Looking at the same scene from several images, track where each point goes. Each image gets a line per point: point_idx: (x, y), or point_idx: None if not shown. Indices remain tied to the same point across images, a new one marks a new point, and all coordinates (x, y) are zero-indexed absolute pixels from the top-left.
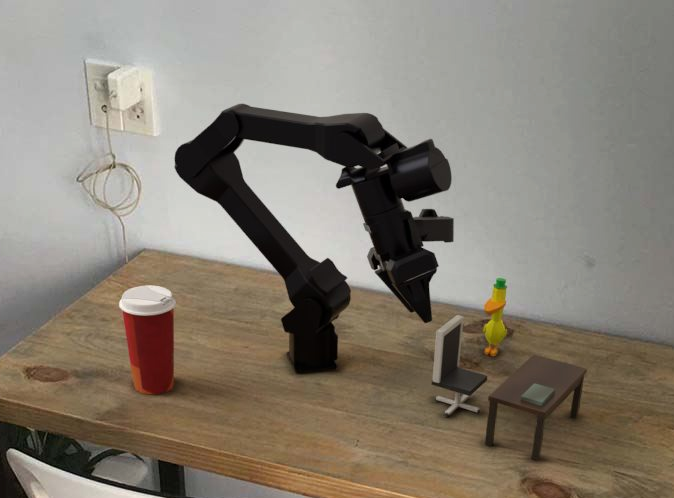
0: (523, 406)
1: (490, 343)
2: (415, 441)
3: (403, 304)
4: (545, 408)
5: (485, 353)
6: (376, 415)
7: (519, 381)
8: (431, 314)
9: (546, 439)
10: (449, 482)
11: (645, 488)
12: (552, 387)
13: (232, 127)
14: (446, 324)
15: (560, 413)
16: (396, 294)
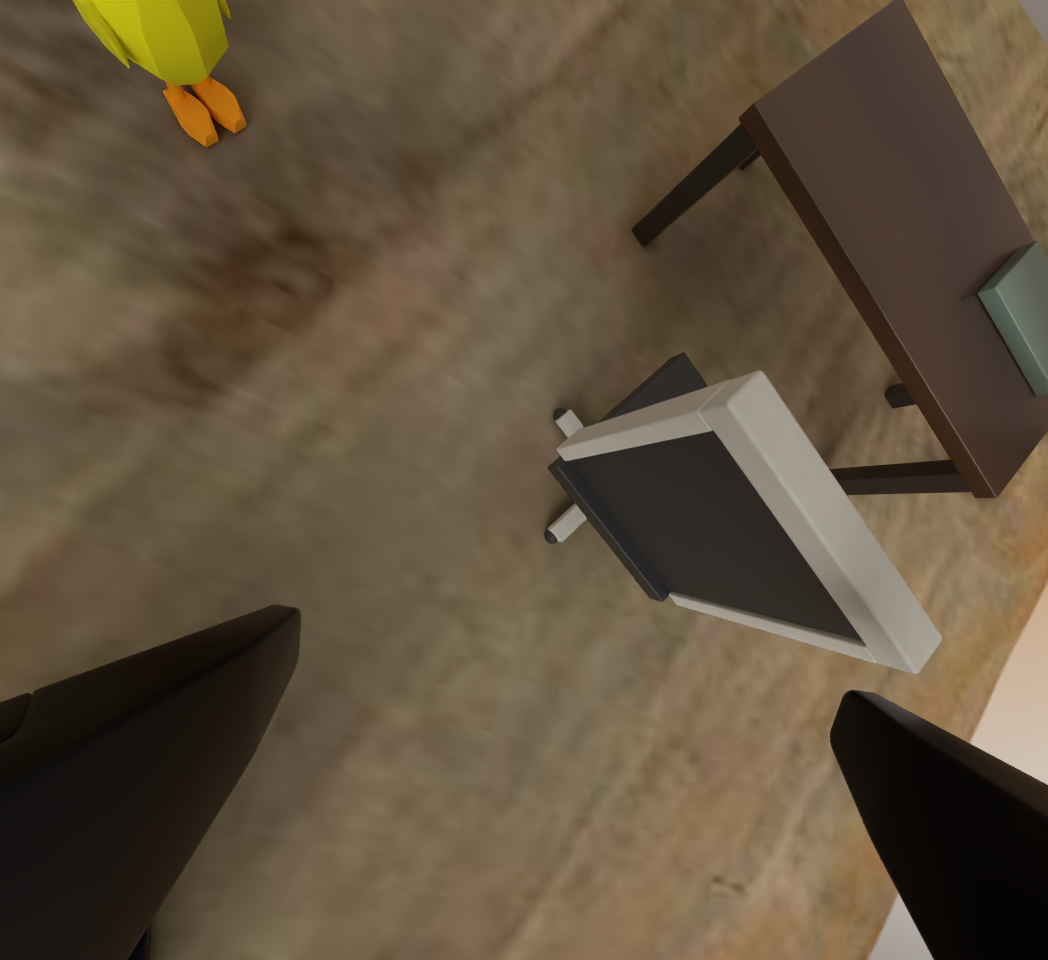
0: None
1: (192, 83)
2: (757, 693)
3: (243, 765)
4: None
5: (212, 142)
6: (588, 786)
7: (935, 321)
8: (926, 722)
9: (823, 312)
10: (931, 661)
11: None
12: (988, 228)
13: None
14: (854, 564)
15: None
16: (150, 916)
